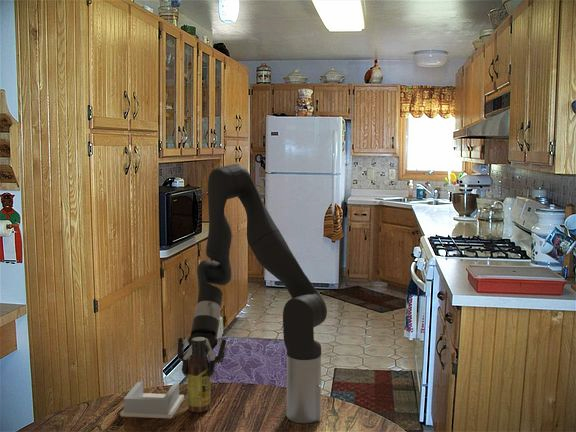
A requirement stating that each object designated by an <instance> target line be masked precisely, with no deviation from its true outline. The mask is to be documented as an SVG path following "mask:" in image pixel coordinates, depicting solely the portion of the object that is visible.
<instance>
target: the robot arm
mask: <svg viewBox="0 0 576 432" xmlns="http://www.w3.org/2000/svg"><path fill="white" fill-rule="evenodd" d="M234 198H238V200H239V201H240V203H241V204H242V206H243V208H244V211H245V213H246V240H247V243H248V246H249V248H250V249H251V251H252V253H253V255H254V257H255V258H256V260H257V261H258V263H259V264H260V265H261V266H262V267H263V268H264V269H265V270H266V271H267V272H268V273H270V274H271V275H272V276H274V278H276V279H277V280H279V282H280V283H281V284H282V285H283V286H284V287H285V289H286V290H287V292H288V293H289V295H290V297H291V298H290V299H289V300H287V301H286V303H285V305H284V307H283V312H282V332H283V335H282V337H283V344H284V346H285V348H286V399H285V401H286V403H285V404H286V407H285V408H286V413H285V414H286V418H287V419H288V420H289V421H291V422H293V423H296V424H312V423H315V422H321V419H322V417H321V414H322V345H321V343H320V342H319V341H317V340H315V337H314V336H315V334H314V333H315V331H314V328H316V327H317V326H319V325H321V324H323V323H324V322H325V320H327V319H326V318H327V315H328V309H327V305H326V303H325V300H324V298H323V297H322V296H321V294H320V293H319V291H318V290H317V289H316V287H315V285H314V284H313V283H312V282H311V280H310V279H309V278H308V276H307V275H306V274H305V272H304V271H303V268H302V267H301V266H300V264H299V262H298V260H297V259H296V257H295V256H294V254H293V252H292V250H291V249H290V247H289V245H288V244H287V243H288V242H287V241H286V239H285V237H284V236H283V235H282V233H281V231H280V230H279V228H278V226H277V225H276V223H275V221H274V220H273V218H272V216H271V215H270V213H269V211H268V209H267V208H266V205H265V204H264V202H263V200H262V198H261V195H260V193H259V191H258V188H257V187H256V183H254V180H253V178H252V176H251V173H249V171H248V169H247V168H246V167H245V166H244V165H242V164H239V163H234V164H233V163H232V164H229V165H228V164H227V165H225V166H224V165H223V166H220V167H216V168H214V169H213V170H211V171H210V173H209V176H208V179H207V200H208V201H207V205H208V232H207V240H206V248H205V254H206V256H207V258H208V259H210V260H208V259H204V260H201V261H200V262H199V264H198V265H197V269H196V275H197V281H198V297H197V301H196V306H195V310H194V313H193V314H194V315H193V320H192V326H191V330H190V335H189V337H188V338H185V339H183V338H182V337H179V338H178V340H177V358H178V360H179V362H182V366H181V372H182V374H183V376H184V377H187V373H188V362H189V359H190V358H191V356H192V344H191V339H192V338H194V337H204V338H206V355H208V356H209V359H210V360H208V361H209V368H208V376H209V377H210V378H212V376H213V375H215V371H216V365H217V364H218V363H223V362H224V358H225V355H226V350H227V348H228V343H227V340H226V339H225V338H224V339H222V340H221V339H218V334H219V333H218V332H219V327H220V321H221V308H222V307H221V306H222V302H223V291H222V289H220V288H219V287H218V286H226V285H227V284H229V283H230V282H231V280H232V266H231V262H230V251H231V244H232V239H233V238H232V237H233V236H232V228H231V225H230V223H229V222H228V219H227V217H226V215H225V207H226V203H227V200H230V199H234ZM216 285H217V286H216ZM187 345H189V348H188V349H187V352H186V353H185V348H186V347H187ZM217 345H218V348H219V350H218V353H217V355H216V356H215V354H214V351H213V350H214V348H215V347H217Z"/></svg>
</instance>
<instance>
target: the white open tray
mask: <svg viewBox="0 0 576 432" xmlns="http://www.w3.org/2000/svg"><path fill="white" fill-rule="evenodd" d="M184 399H185V395H184V394H180V383H177V382H173V384H172V385H171V386H170V387H169V390H167V393H149V392H148V393H147V392H144V382H143V381H137V382H136V383H135V385H134V386H133V387H132V388H131V389H130V390H129V392H128V393H127V394H126V396H124V397H123V409H122V410H121V411H120V417H128V418H153V419H154V418H156V419H173V416H174V415H175V414H176V413H177V410H178V409H179V407H180V405H181V403H182V402H183V401H184Z"/></svg>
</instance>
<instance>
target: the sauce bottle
mask: <svg viewBox="0 0 576 432" xmlns="http://www.w3.org/2000/svg"><path fill="white" fill-rule="evenodd" d="M191 344H192V356H191V358H190V359H189V362H188V373H187V376H186V377H187V409H188V410H189V412H191V413H196V414H197V413H203V412H207V411H208V410H210V407H211V405H210V404H211V377H209V376H208V368H209V361H210V360H209V358H208V357H207V354H206V338H204V337H194V338H192V339H191Z"/></svg>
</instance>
